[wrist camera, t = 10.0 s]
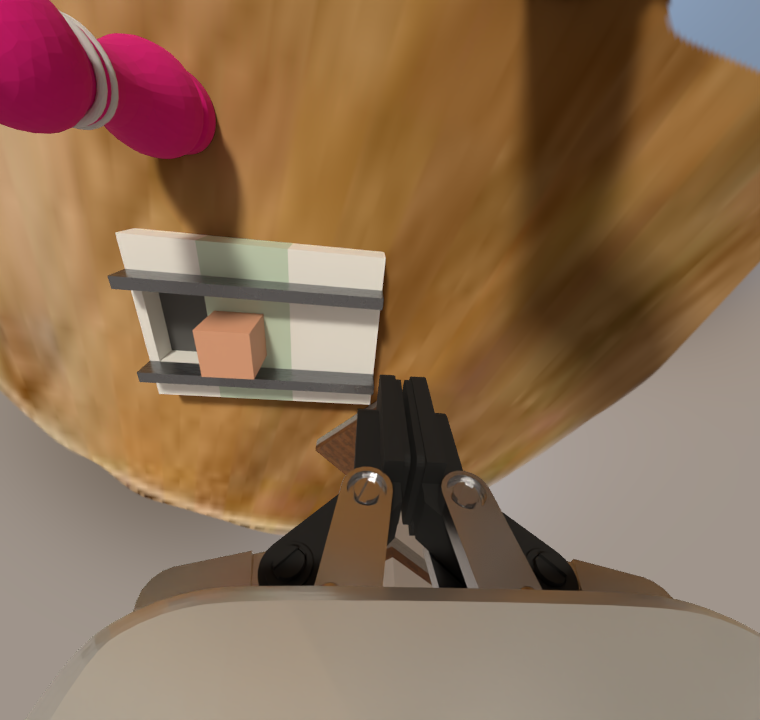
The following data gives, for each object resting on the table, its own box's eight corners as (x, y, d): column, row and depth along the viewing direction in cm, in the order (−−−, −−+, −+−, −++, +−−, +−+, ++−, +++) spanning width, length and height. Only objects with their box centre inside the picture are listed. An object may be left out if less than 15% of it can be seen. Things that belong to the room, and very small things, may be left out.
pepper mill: (189, 179, 31) (-35, 183, 13) (115, 105, 28) (-295, -15, 10) (239, 119, 29) (52, 31, 11) (165, 32, 26) (-241, -267, 8)
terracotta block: (263, 314, 34) (249, 333, 30) (266, 355, 37) (254, 379, 32) (214, 310, 34) (192, 330, 30) (220, 352, 36) (201, 376, 32)
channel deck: (383, 252, 35) (385, 258, 32) (369, 391, 44) (369, 404, 41) (135, 228, 33) (115, 232, 30) (172, 380, 41) (159, 393, 39)
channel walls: (382, 290, 34) (383, 298, 32) (372, 382, 39) (372, 394, 37) (125, 268, 32) (107, 275, 29) (152, 369, 37) (139, 381, 35)
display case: (379, 398, 44) (420, 889, 14) (423, 443, 49) (526, 890, 18) (317, 439, 47) (237, 917, 17) (363, 478, 52) (366, 912, 21)
